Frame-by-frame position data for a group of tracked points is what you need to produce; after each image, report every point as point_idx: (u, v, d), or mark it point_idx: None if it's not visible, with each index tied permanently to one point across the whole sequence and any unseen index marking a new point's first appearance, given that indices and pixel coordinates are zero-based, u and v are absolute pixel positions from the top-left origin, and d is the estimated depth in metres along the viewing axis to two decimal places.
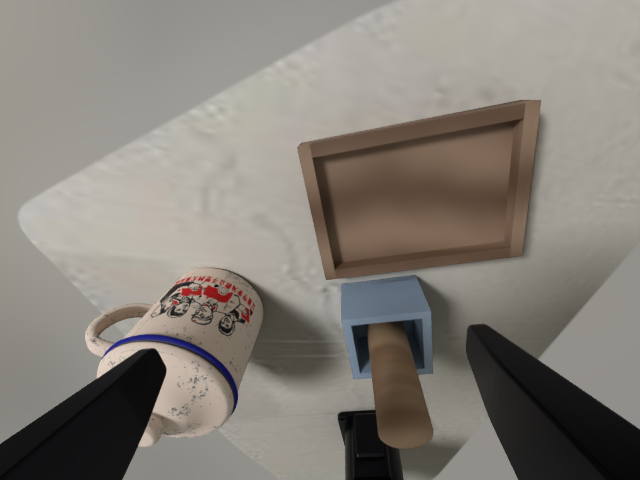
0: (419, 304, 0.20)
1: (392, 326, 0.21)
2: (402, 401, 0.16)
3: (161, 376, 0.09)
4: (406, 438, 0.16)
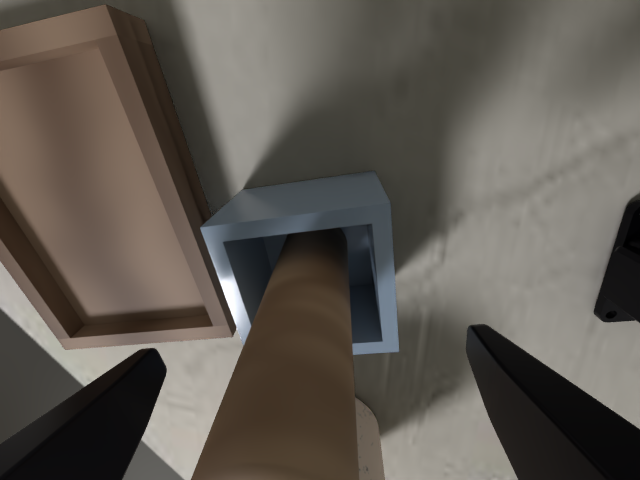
0: None
1: None
2: None
3: (161, 376, 0.09)
4: None
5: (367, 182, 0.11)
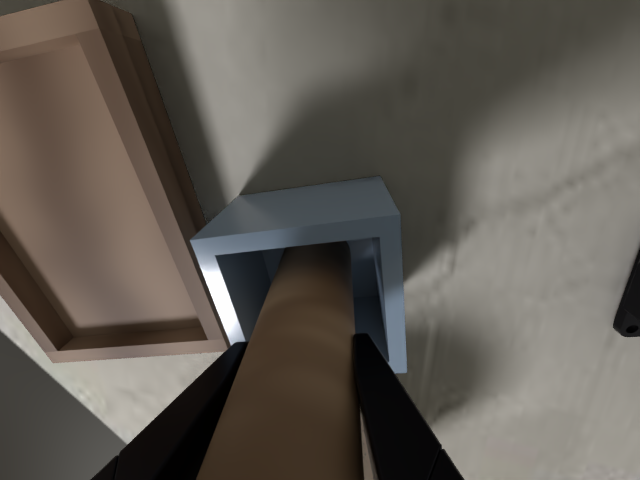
0: None
1: None
2: None
3: None
4: None
5: (373, 189, 0.10)
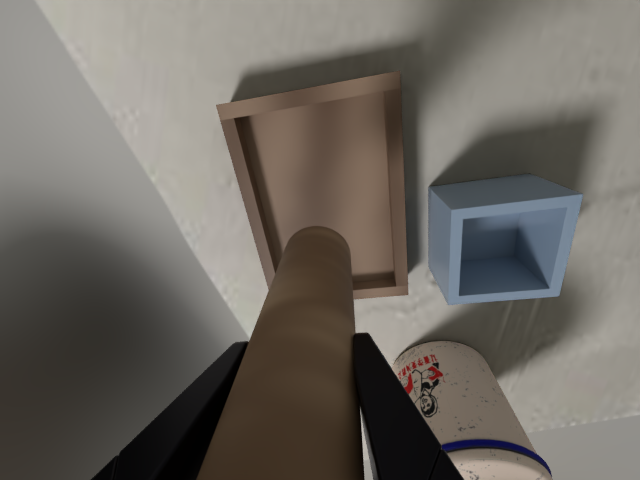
0: (446, 214, 0.16)
1: None
2: None
3: None
4: None
5: (539, 181, 0.17)
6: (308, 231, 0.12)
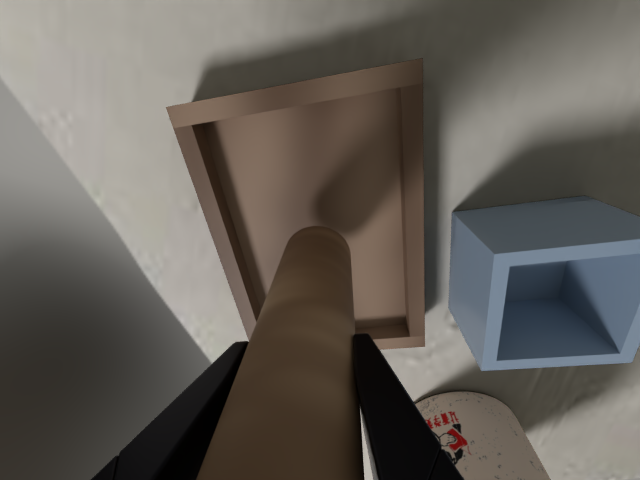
0: (483, 257, 0.12)
1: None
2: None
3: None
4: None
5: (605, 209, 0.12)
6: (308, 231, 0.12)
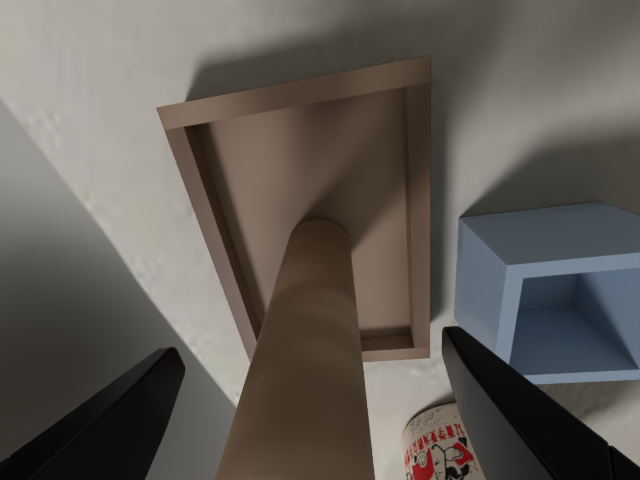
0: (494, 267, 0.11)
1: None
2: None
3: (180, 375, 0.09)
4: None
5: (623, 216, 0.12)
6: (311, 222, 0.13)
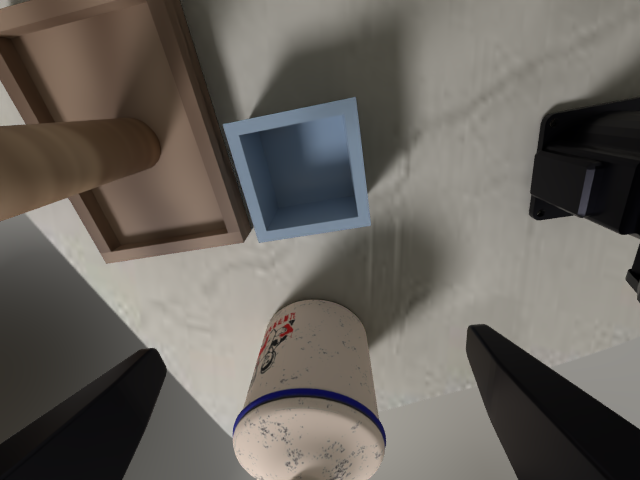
0: None
1: None
2: None
3: (161, 376, 0.09)
4: None
5: None
6: None
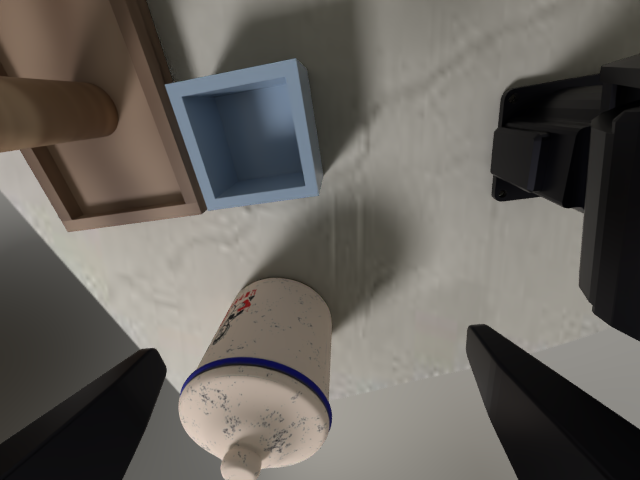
0: None
1: None
2: None
3: (161, 376, 0.09)
4: None
5: None
6: None
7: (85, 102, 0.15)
